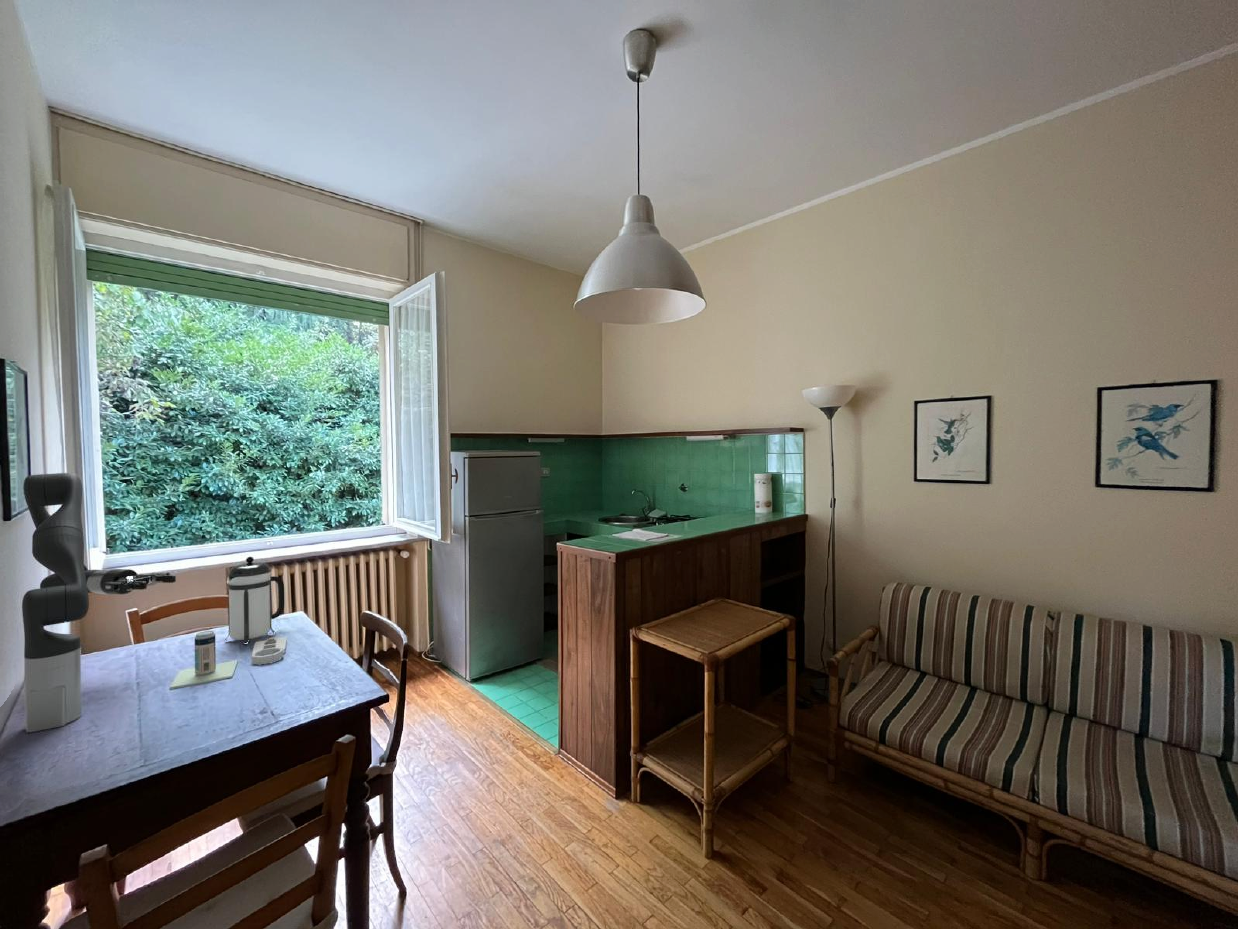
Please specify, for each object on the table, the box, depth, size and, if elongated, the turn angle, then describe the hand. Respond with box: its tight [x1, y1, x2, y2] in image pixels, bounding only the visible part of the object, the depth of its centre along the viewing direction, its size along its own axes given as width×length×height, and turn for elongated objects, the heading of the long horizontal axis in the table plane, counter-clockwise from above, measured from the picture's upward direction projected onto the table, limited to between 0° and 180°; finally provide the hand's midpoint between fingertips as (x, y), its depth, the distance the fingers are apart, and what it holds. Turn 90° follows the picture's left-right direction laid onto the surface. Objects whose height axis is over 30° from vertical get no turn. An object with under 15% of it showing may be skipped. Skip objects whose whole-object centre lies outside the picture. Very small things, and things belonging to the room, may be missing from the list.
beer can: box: [194, 630, 217, 675], centre depth 149 cm, size 5×5×12 cm
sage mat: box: [168, 660, 239, 690], centre depth 149 cm, size 14×14×1 cm
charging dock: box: [251, 636, 287, 665], centre depth 166 cm, size 22×9×2 cm, turn 32°
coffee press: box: [224, 556, 285, 644], centre depth 182 cm, size 17×16×30 cm
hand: (160, 582), depth 150 cm, fingers open, 8 cm apart
